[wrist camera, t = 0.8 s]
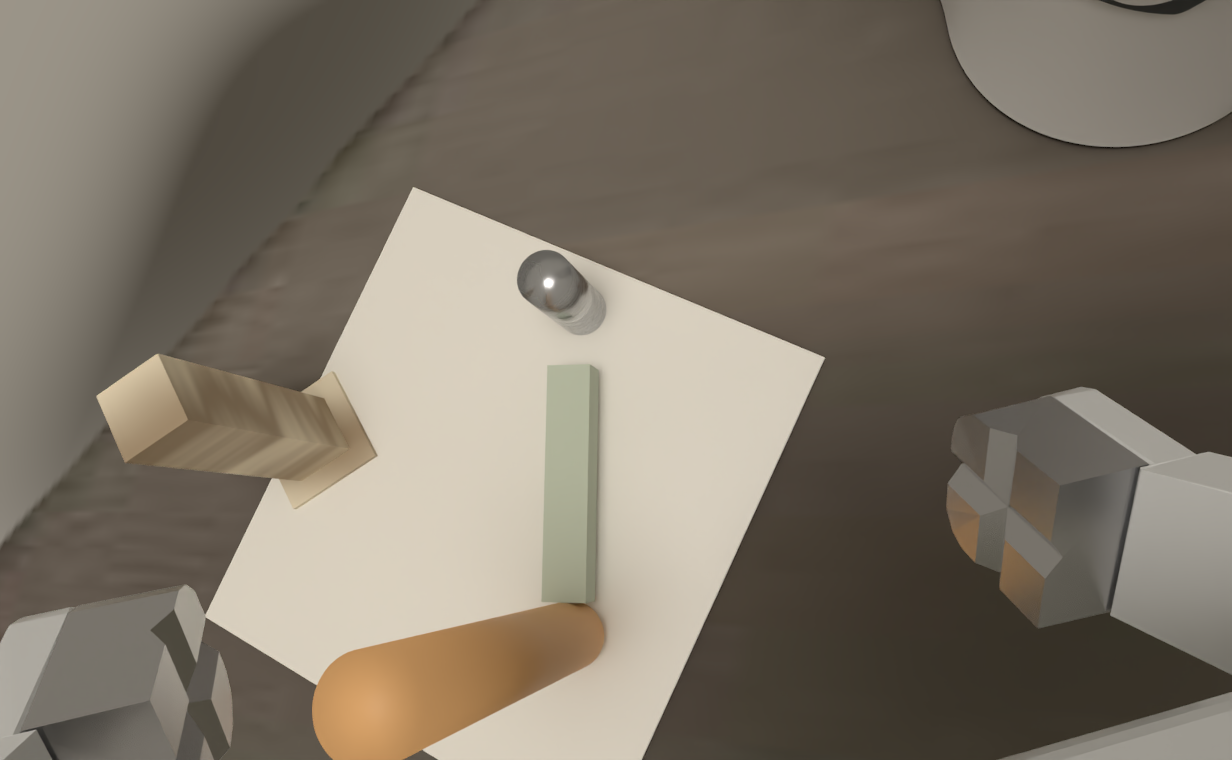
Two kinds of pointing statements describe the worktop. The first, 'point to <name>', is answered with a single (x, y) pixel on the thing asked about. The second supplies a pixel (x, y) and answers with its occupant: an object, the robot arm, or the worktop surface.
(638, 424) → the base board
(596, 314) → the post
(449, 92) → the worktop surface
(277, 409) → the post
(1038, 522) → the robot arm
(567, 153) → the worktop surface
